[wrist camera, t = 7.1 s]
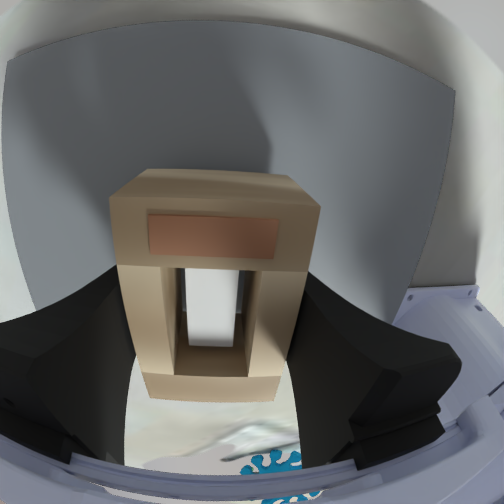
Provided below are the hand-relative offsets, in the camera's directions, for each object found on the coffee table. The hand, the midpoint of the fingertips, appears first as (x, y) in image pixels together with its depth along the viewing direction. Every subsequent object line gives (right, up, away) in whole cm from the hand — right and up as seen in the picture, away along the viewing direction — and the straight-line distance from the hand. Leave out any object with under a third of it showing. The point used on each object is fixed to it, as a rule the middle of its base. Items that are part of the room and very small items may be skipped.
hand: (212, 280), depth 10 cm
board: (0, +3, +1) cm, 3 cm away
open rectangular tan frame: (0, 0, +1) cm, 1 cm away
